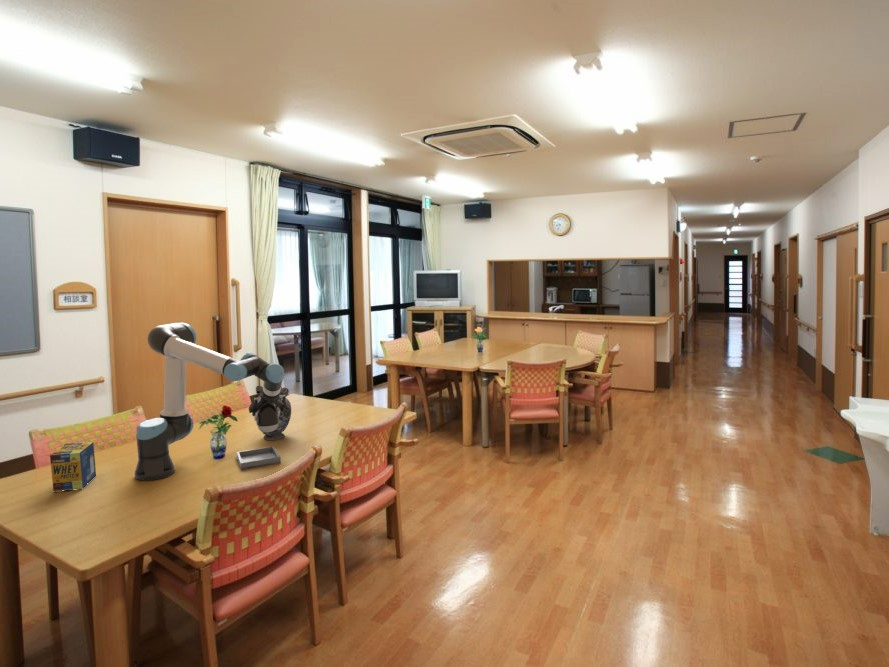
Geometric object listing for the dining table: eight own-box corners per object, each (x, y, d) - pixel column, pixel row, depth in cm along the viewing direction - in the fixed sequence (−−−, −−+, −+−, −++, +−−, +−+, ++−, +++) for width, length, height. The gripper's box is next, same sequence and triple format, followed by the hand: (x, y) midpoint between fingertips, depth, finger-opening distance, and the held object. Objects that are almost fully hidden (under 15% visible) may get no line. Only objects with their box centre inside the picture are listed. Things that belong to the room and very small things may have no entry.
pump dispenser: (284, 428, 250) (283, 397, 249) (269, 434, 241) (267, 402, 239) (267, 426, 254) (266, 395, 253) (252, 432, 245) (250, 400, 243)
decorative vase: (245, 440, 273) (243, 387, 270) (269, 430, 290) (268, 380, 287) (278, 444, 265) (276, 390, 262) (301, 434, 282) (300, 383, 279)
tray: (280, 463, 239) (280, 456, 239) (241, 469, 232) (240, 463, 231) (274, 452, 254) (273, 446, 254) (236, 458, 247) (236, 451, 246)
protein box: (52, 493, 209) (49, 455, 207) (69, 478, 223) (65, 443, 222) (83, 490, 211) (79, 452, 210) (97, 475, 226) (94, 441, 224)
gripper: (246, 399, 227) (242, 426, 242) (298, 394, 237) (291, 420, 253) (244, 385, 231) (240, 413, 246) (295, 380, 241) (288, 407, 257)
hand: (266, 416), depth 249 cm, fingers closed on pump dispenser, 10 cm apart
